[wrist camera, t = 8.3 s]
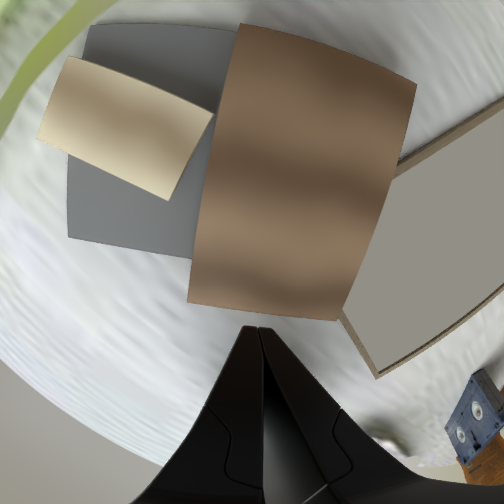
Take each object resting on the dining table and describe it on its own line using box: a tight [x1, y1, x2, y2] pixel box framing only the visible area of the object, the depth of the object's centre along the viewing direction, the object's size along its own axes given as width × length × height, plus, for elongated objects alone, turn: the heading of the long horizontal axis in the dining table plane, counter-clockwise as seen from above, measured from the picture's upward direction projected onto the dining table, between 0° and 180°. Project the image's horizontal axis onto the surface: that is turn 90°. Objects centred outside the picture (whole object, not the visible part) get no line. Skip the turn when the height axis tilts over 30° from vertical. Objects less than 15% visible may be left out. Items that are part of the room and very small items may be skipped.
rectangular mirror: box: [338, 97, 504, 379], centre depth 20 cm, size 19×1×28 cm
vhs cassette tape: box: [445, 369, 504, 466], centre depth 30 cm, size 18×3×10 cm, turn 13°
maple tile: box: [37, 56, 215, 201], centre depth 14 cm, size 5×9×2 cm, turn 60°
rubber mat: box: [67, 23, 238, 259], centre depth 15 cm, size 14×9×1 cm, turn 168°
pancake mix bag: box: [456, 432, 504, 485], centre depth 41 cm, size 7×19×28 cm, turn 126°
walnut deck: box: [187, 23, 417, 321], centre depth 16 cm, size 16×10×2 cm, turn 168°
